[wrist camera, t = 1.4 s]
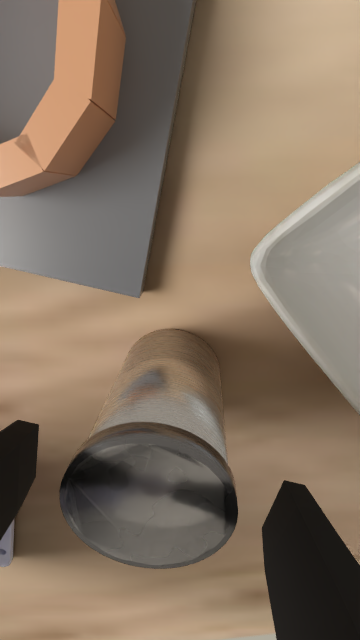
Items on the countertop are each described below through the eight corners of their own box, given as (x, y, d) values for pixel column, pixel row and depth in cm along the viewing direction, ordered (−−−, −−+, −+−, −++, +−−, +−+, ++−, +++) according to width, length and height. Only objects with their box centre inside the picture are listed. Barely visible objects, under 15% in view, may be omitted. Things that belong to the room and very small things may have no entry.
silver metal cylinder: (209, 423, 16) (212, 583, 9) (115, 402, 16) (53, 548, 9) (235, 339, 14) (261, 463, 8) (130, 314, 14) (66, 419, 8)
